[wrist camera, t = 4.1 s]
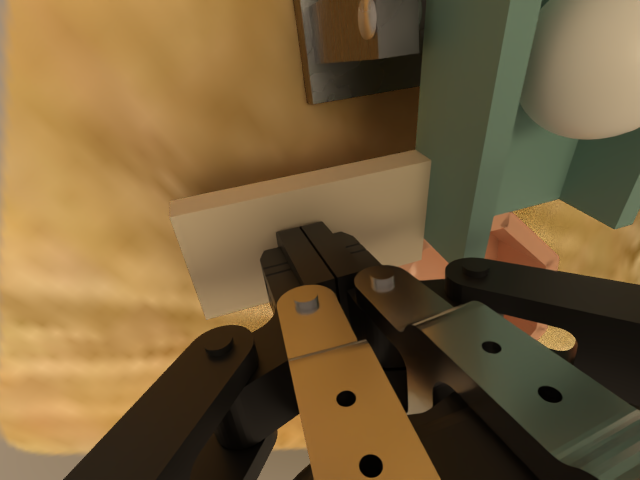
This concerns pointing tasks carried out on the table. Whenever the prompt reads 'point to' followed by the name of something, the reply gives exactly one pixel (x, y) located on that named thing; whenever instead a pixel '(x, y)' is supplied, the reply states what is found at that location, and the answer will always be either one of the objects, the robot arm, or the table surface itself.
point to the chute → (422, 168)
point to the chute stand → (359, 46)
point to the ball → (585, 69)
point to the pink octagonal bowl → (497, 258)
